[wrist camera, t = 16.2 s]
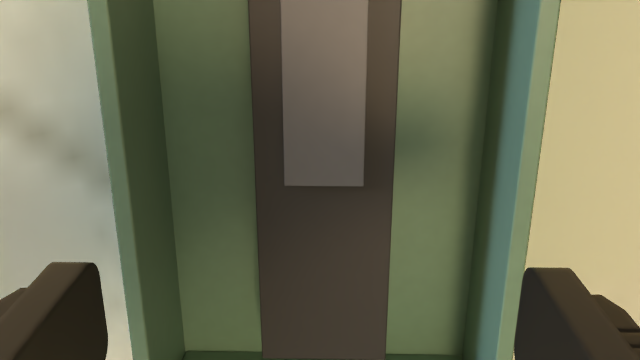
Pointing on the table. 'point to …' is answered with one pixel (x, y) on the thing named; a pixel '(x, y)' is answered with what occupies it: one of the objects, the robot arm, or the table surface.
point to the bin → (239, 173)
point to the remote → (324, 173)
